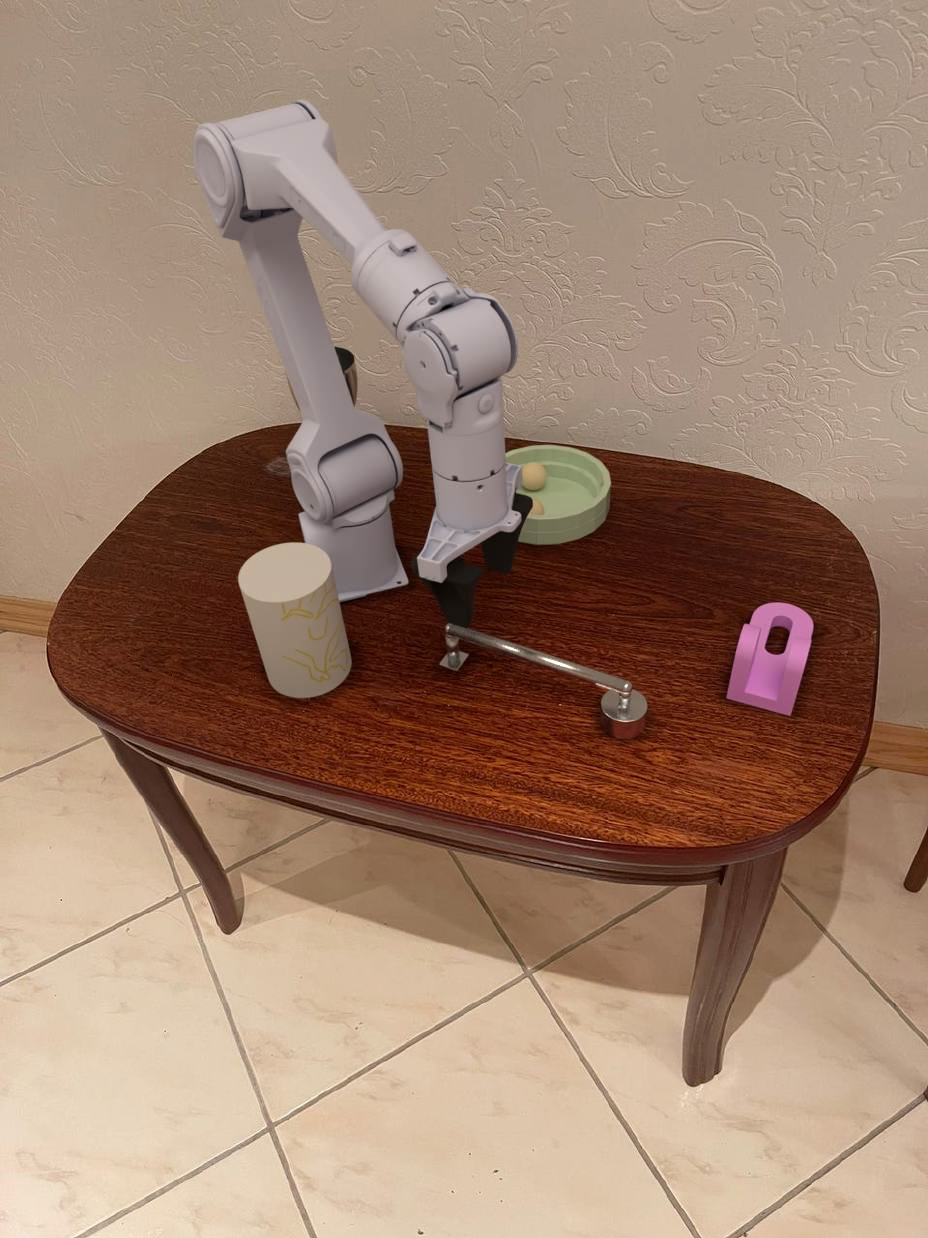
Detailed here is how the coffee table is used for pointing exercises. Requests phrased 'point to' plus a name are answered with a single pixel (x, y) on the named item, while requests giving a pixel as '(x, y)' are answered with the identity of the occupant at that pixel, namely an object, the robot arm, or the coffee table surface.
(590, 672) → the weighted chrome rod
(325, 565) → the cream cylinder
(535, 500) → the dough ball
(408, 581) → the robot arm
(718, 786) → the coffee table surface
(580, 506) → the bowl
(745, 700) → the bracket
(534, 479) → the dough ball
